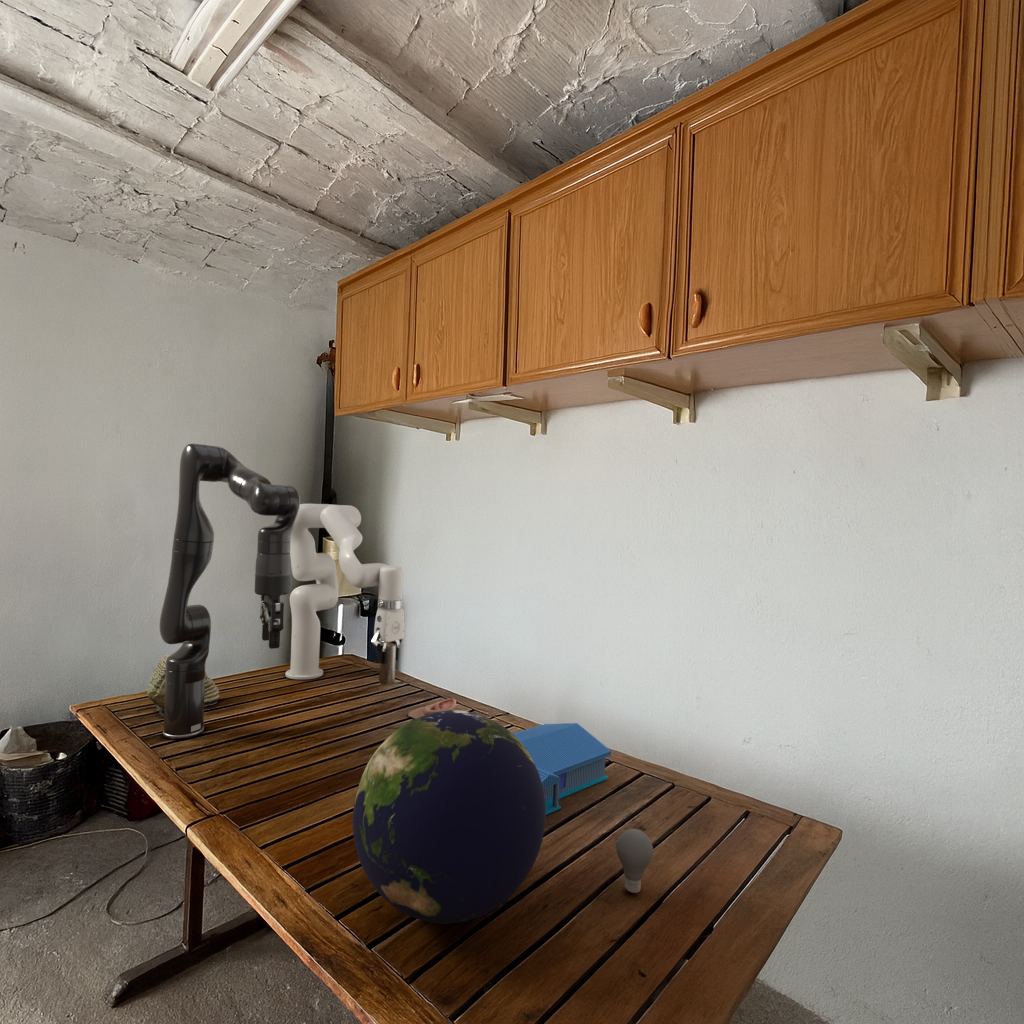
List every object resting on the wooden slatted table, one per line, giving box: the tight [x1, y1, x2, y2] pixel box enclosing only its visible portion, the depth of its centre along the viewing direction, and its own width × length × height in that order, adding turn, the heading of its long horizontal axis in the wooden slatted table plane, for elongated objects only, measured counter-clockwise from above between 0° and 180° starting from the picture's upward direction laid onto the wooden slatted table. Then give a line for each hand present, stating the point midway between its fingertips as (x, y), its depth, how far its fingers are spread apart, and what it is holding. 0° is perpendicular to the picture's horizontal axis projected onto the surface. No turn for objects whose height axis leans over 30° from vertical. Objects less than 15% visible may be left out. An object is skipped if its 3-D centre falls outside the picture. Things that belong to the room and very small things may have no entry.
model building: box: [512, 722, 612, 816], centre depth 142 cm, size 39×24×10 cm, turn 132°
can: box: [378, 642, 397, 685], centre depth 202 cm, size 5×5×12 cm
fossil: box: [147, 654, 221, 712], centre depth 185 cm, size 9×18×15 cm, turn 132°
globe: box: [352, 709, 547, 925], centre depth 100 cm, size 30×30×30 cm
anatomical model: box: [407, 698, 457, 719], centre depth 186 cm, size 13×4×12 cm
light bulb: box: [615, 828, 654, 894], centre depth 106 cm, size 6×6×10 cm
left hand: (270, 644), depth 144 cm, fingers open, 8 cm apart
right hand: (387, 660), depth 202 cm, fingers closed on can, 5 cm apart
